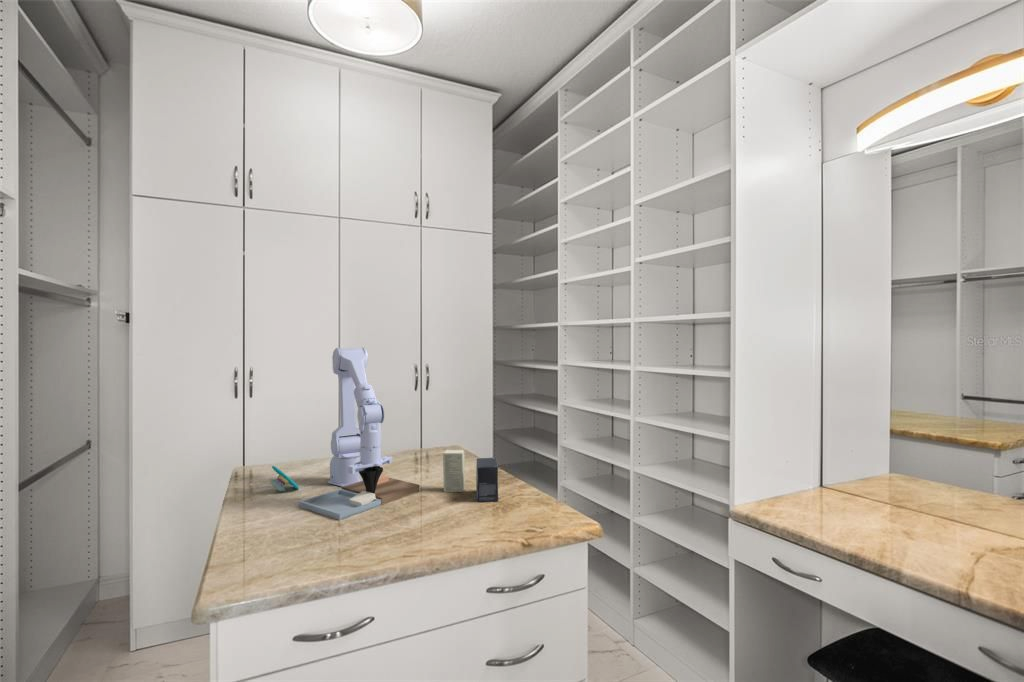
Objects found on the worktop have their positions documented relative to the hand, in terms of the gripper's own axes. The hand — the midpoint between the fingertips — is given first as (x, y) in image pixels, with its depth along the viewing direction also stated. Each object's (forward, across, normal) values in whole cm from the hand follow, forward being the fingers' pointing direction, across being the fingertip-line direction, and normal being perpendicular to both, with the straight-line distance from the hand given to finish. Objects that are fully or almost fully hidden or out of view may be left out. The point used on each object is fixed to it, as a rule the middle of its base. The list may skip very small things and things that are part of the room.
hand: (370, 493), depth 145 cm
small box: (+3, +23, -25) cm, 34 cm away
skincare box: (+3, +22, -12) cm, 26 cm away
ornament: (+3, -8, +31) cm, 32 cm away
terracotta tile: (+1, +10, +9) cm, 14 cm away
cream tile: (+2, -3, 0) cm, 3 cm away
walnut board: (+3, +8, +4) cm, 9 cm away
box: (+3, -7, +5) cm, 9 cm away
